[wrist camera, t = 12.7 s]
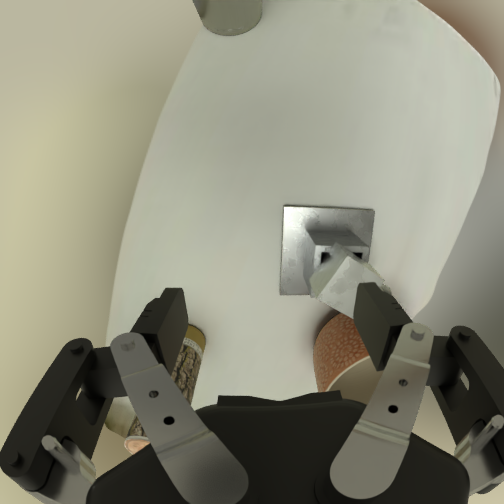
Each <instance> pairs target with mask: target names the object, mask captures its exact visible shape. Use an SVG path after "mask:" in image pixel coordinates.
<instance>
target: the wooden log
mask: <svg viewBox="0 0 504 504" xmlns="http://www.w3.org/2000/svg"><path fill="white" fill-rule="evenodd" d="M204 348H205V338H204V336H203V334H202V333H201V332H200V331H199V330H198V329H197V328H195V327H193V326H190V325H188V329H187V332H186V335H185V338H184V341H183V344H182V346H181V349H180V352H179V355H178V358H177V361H176V364H175V367H174V370H173V373H172V376H171V378H172V379H173V381H174V382H175V384H176V385H177V387H178V388H179V390H180V391H181V393H182V394H183V396H184V397H185V398H186V400H187V401H188V403H189V404H190V406H191V402H192V398H193V394H194V390H195V385H196V381H197V377H198V373H199V369H200V365H201V361H202V357H203V352H204ZM149 443H150V441H149V439H148V437H147V435H146V433H145V431H144V429H143V427H142V425H141V423H140V421H139V419H138V417H137V415H136V414H135V417H134V419H133V422H132V424H131V427H130V429H129V432H128V434H127V437H126V440H125V447H126V448H127V450H128V451H129V452H131V453H132V454H135V453H136V452H138V451H139V450H141V449H142V448H144V447H145V446H146V445H148V444H149Z"/></svg>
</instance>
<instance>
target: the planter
mask: <svg viewBox="0 0 504 504" xmlns="http://www.w3.org/2000/svg"><path fill="white" fill-rule="evenodd" d="M313 363H314V371H315V377H316V382H317V388H318V392H327V391H336V390H340V392H341V396H342V398H344V399H351V400H355V401H359V402H362V403H364V404H367V405H368V403H369V401H370V399H371V397H372V395H373V393H374V391H375V389H376V387H377V385H378V382H379V380H380V378H381V376H382V374H383V372H384V371H378V372H377V371H376V369H375V367H374V365H373V362H372V360H371V358H370V356H369V354H368V351H367V349H366V347H365V345H364V343H363V341H362V339H361V337H360V335H359V333H358V330H357V328H356V326H355V324H354V319H352V318H350V317H349V316H347V315H345V314H343V313H340V314H338V315H336V316H335V317H333V318H332V319H331V320H330V321H329V322H328V323H327V324H326V325H325V326H324V327H323V328H322V330H321V331H320V333H319V335H318V337H317V339H316V342H315V345H314V351H313Z"/></svg>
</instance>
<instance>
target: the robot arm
mask: <svg viewBox="0 0 504 504" xmlns="http://www.w3.org/2000/svg"><path fill="white" fill-rule="evenodd" d="M193 3H194V5H195V7H196V9H197V12H198V14H199V16H200V18H201V20H202V22H203V24H204V26H205V27H206V28H207V29H208V30H210V31H211V32H213V33H216V34H219V35H228V36H231V35H238V34H242V33H244V32H247V31H249V30H250V29H252V28H253V27H254V26H255V25H256V24H257V23H258V22H259V20H260V18H261V15H262V0H193ZM353 319H354V324H355V326H356V328H357V330H358V333H359V335H360V337H361V339H362V341H363V343H364V345H365V347H366V349H367V351H368V354H369V356H370V358H371V360H372V362H373V365H374V367H375V369H376V371H377V372H378V371H384V372H383V374H382V376H381V378H380V380H379V382H378V385H377V387H376V389H375V391H374V393H373V395H372V397H371V399H370V401H369V403H368V405H367V404H364V403H362V402H359V401H355V400H351V399H344V398H342V396H341V392H340V390H336V391H327V392H317V393H310V394H306V395H302V396H299V397H295V398H291V399H288V400H284V401H275V400H269V399H263V398H257V397H252V396H221V395H218V402H217V404H214V405H210V406H206V407H203V408H200V409H198V410H196V411H194V410H193V408H192V407H191V406H190V404H189V403H188V401H187V400H186V398H185V397H184V396H183V394H182V393H181V391H180V390H179V388H178V387H177V385H176V384H175V382H174V381H173V379H172V378H171V376H172V373H173V370H174V367H175V364H176V361H177V358H178V355H179V352H180V349H181V346H182V344H183V341H184V338H185V335H186V332H187V329H188V315H187V309H186V303H185V297H184V292H183V289H182V288H165V290H164V291H163V293H162V295H161V296H160V298H155V299H153V300H152V301H151V302H149V303H148V304H147V305H146V307H145V309H144V311H143V312H142V313H141V315H140V317H139V318H138V320H137V321H136V323H135V325H134V326H133V328H132V329H131V331H130V332H129V333H124V334H121V335H119V336H117V337H116V338H114V339H113V341H112V342H111V344H110V346H109V347H102V348H93V345H92V343H91V341H90V340H88V339H86V338H78V339H74V340H72V341H70V342H68V343H67V344H66V345H65V346H64V347H63V348H62V350H61V351H60V353H59V354H58V355H57V357H56V358H55V360H54V361H53V363H52V364H51V366H50V367H49V369H48V370H47V372H46V373H45V375H44V376H43V378H42V380H41V381H40V382H39V384H38V386H37V387H36V389H35V391H34V392H33V394H32V395H31V397H30V398H29V400H28V402H27V403H26V405H25V407H24V409H23V410H22V412H21V414H20V416H19V417H18V419H17V421H16V423H15V424H14V426H13V428H12V430H11V432H10V434H9V436H8V437H7V439H6V441H5V443H4V445H3V447H2V450H1V451H0V467H1V469H2V471H3V472H4V473H5V474H6V475H8V476H9V477H10V478H11V479H13V480H14V481H15V482H16V483H17V484H19V486H20V487H22V488H23V489H24V490H25V491H27V492H28V493H29V494H31V495H32V496H34V497H35V498H37V499H38V500H40V501H41V502H43V503H45V504H468V498H469V496H471V495H473V494H475V493H478V494H485V493H488V492H490V491H491V490H492V489H494V488H495V487H496V486H498V485H499V484H500V483H501V482H503V481H504V369H503V367H502V366H501V365H500V363H499V362H498V361H497V359H496V358H495V356H494V355H493V354H492V353H491V351H490V350H489V349H488V347H487V346H486V345H485V344H484V342H483V341H482V340H481V339H480V337H479V336H478V335H477V334H476V333H475V331H473V330H472V329H470V328H468V327H465V326H455V327H453V328H452V329H451V332H450V334H449V336H434V334H433V332H432V330H431V329H430V328H429V327H427V326H426V325H423V324H420V323H413V322H412V320H411V319H410V317H409V316H408V315H407V314H406V312H405V311H404V310H403V309H402V307H401V306H400V305H399V304H398V302H397V301H396V299H395V298H394V297H393V296H392V295H390V294H388V293H387V292H385V291H383V292H382V290H381V289H380V288H379V287H378V285H377V284H376V283H375V282H364V283H359V284H358V286H357V292H356V299H355V305H354V312H353ZM463 372H464V373H465V375H466V377H467V378H468V380H469V390H467V388H466V387H465V385H464V383H463V382H462V380H461V378H460V377H461V375H462V373H463ZM425 386H430V387H431V390H432V391H433V394H434V396H435V398H436V400H437V402H438V404H439V406H440V409H441V411H442V413H443V415H444V417H445V419H446V422H447V424H448V427H449V429H450V431H451V433H452V436H453V439H454V441H455V444H456V448H455V451H454V456H452V455H451V454H449V453H447V452H445V451H443V450H441V449H440V448H438V447H436V446H434V445H433V444H431V443H429V442H427V441H426V440H424V439H422V438H421V437H419V436H417V435H416V434H414V433H412V432H411V431H412V429H413V426H414V423H415V420H416V417H417V414H418V410H419V407H420V404H421V401H422V397H423V394H424V390H425ZM80 388H81V389H82V391H81V393H80V394H79V397H78V398H77V400H76V396H77V393H78V391H79V389H80ZM124 396H128V397H129V399H130V402H131V404H132V406H133V408H134V411H135V413H136V415H137V417H138V419H139V421H140V423H141V425H142V427H143V429H144V431H145V433H146V435H147V437H148V439H149V441H150V443H149V444H148V445H146V446H145V447H144V448H142V449H141V450H139V451H138V452H136V453H135V454H133V455H132V456H131V457H129V458H127V459H126V460H125V461H123V462H121V463H120V464H118V465H117V466H115V467H114V468H112V469H111V470H109V471H107V472H106V473H104V474H103V475H101V476H100V477H98V478H97V479H95V476H96V469H95V466H94V464H93V463H92V461H91V458H92V455H93V452H94V449H95V447H96V444H97V441H98V438H99V435H100V433H101V430H102V427H103V424H104V422H105V419H106V417H107V414H108V411H109V409H110V406H111V404H112V401H113V399H114V397H124Z"/></svg>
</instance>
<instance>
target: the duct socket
mask: <svg viewBox="0 0 504 504" xmlns="http://www.w3.org/2000/svg"><path fill="white" fill-rule="evenodd" d="M374 214H375V211H374V210H368V209H351V208H332V207H309V206H284V207H283V233H282V256H281V275H280V295H310V297H315V294H314V292H313V289H312V287H311V284H310V282H309V279H310V278H311V276H312V275H313V274H314V272H315V271H316V269H317V268H318V267H319V265H320V262H321V252H329V251H330V249H331V248H332V247H333V245H334V244H335V242H337V243H338V244H340V245H342V246H343V247H345V248H346V249H348V250H349V251H351V252H352V253H354V254H355V255H357V256H358V257H360V258H361V259H363V260H364V261H366V262H367V263H368V260H369V253H370V247H371V239H372V232H373V223H374Z"/></svg>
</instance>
